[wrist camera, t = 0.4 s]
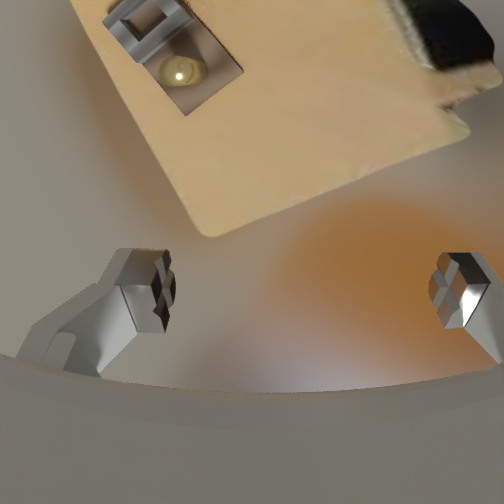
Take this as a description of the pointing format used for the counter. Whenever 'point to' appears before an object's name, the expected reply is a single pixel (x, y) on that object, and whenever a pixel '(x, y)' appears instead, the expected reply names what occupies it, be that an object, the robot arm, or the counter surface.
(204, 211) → the counter surface
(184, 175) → the counter surface
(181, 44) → the jig
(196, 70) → the translucent yellow cylinder
